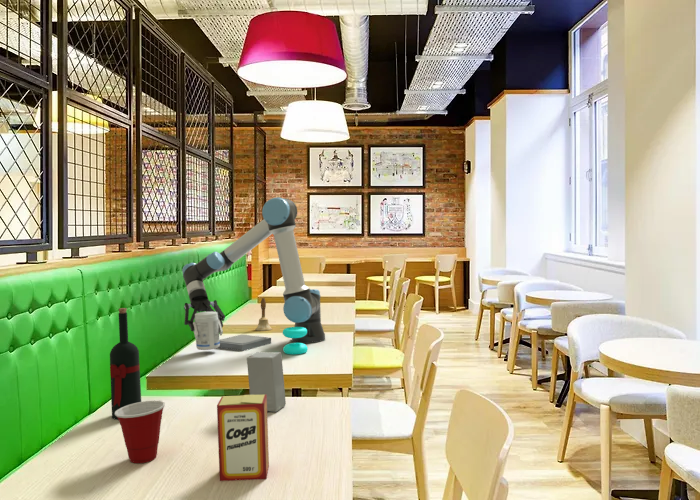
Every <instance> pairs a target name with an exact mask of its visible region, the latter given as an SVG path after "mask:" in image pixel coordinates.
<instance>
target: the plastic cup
mask: <svg viewBox="0 0 700 500" xmlns="http://www.w3.org/2000/svg"><path fill="white" fill-rule="evenodd" d="M165 404H166V402H165V401H162V400H145V401H141V402H138V403H134V404H130V405H127V406H124V407H122V408H120V409H118V410H117V411H115V416H117V418H118V420H117V421H118V422H119V425H120V427H121V428H120V429H121V432H122V437H123V440H124V445H125V448H126V451H127V456H128V459H129V462H130V463H133V464H144V463H148V462H151V461H154V460H155V459H157V455H158V447H159V443H160V434H161V433H160V432H161V423H162V419H163V413H164V412H163V411H164V408H165Z"/></svg>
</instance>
